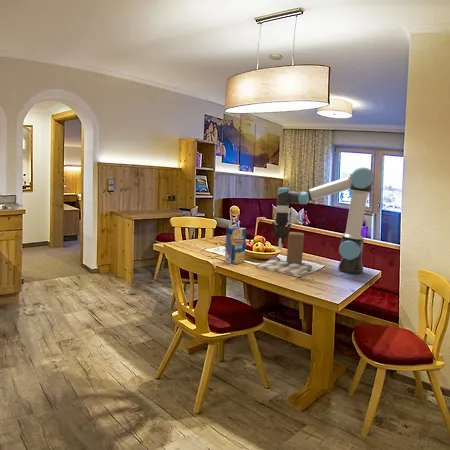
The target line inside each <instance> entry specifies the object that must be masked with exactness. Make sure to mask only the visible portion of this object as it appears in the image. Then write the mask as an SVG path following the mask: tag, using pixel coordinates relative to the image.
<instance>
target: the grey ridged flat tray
mask: <svg viewBox="0 0 450 450" xmlns="http://www.w3.org/2000/svg"><path fill="white" fill-rule="evenodd" d="M255 268H257V269H262V270H266V271H270V272H276V273H280V274H281V273H282V274H286V275H291V276H296V277H304V276H306V275H307V274H308V272H309V271H306V270H301V269H295V268H290V267H285V266H279V265H274V264H269V263H265V262H260V263H257V264H255Z"/></svg>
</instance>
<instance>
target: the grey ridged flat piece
mask: <svg viewBox="0 0 450 450" xmlns="http://www.w3.org/2000/svg"><path fill="white" fill-rule="evenodd" d="M286 261H287V260H286ZM286 261H285V260H278V259H274V258H270V259H269V260H267V261H265V262H264V263H269V264H274V265H279V266H285V267H287V266H288V265H290V264H289V263H290V262H286Z"/></svg>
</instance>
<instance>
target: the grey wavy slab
mask: <svg viewBox="0 0 450 450" xmlns="http://www.w3.org/2000/svg"><path fill="white" fill-rule="evenodd" d="M287 267H290V268H295V269H301V270H306V271H308V272H310V271H311V270H313V265H308V264H303V263H302V264H297V263H292V264H289V265H288V266H287Z"/></svg>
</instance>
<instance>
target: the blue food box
mask: <svg viewBox="0 0 450 450" xmlns="http://www.w3.org/2000/svg"><path fill="white" fill-rule="evenodd" d="M225 234H226V235H225V248H224V249H225V251H224V253H225V254H224V262H225V263H228V264H232V265H234V264H239V263H245V258H246V242H247V241H246V240H247V228H246V227H241V226H238V227H226V233H225Z"/></svg>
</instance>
